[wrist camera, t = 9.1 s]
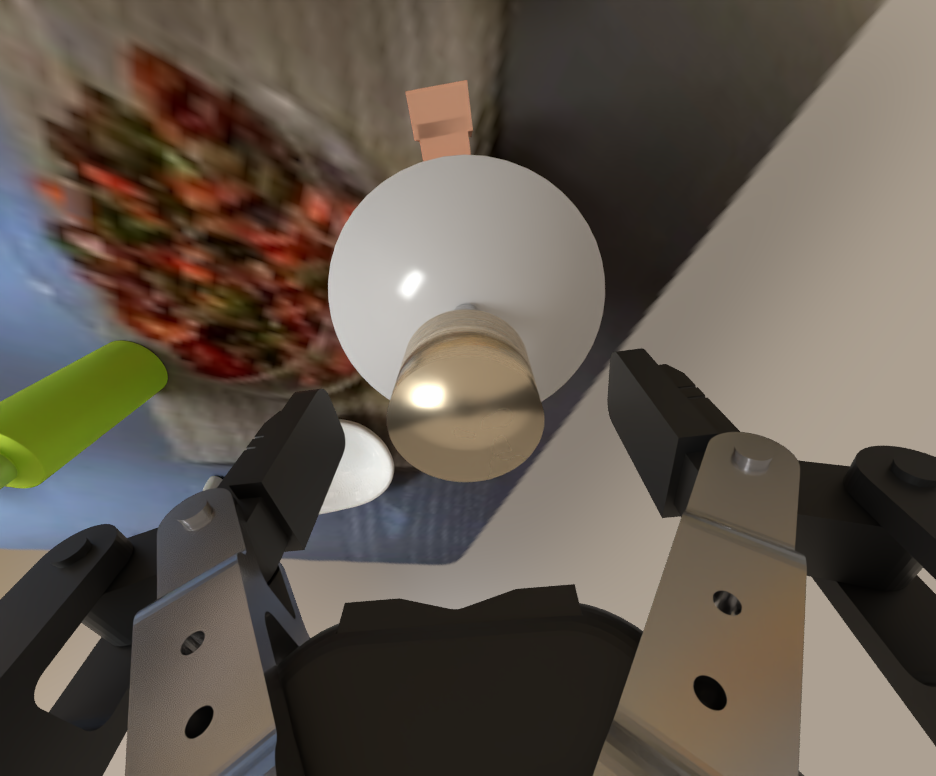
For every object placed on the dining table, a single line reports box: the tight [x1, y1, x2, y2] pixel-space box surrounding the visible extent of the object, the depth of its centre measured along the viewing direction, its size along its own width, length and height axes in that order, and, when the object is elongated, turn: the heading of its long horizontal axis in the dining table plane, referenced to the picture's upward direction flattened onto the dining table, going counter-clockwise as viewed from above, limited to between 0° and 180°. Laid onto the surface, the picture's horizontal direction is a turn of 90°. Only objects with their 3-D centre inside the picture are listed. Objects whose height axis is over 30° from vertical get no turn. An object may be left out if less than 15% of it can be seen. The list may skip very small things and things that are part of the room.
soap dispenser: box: [0, 341, 168, 489], centre depth 28 cm, size 6×7×20 cm
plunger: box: [387, 303, 544, 482], centre depth 13 cm, size 4×4×7 cm
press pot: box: [328, 80, 605, 402], centre depth 23 cm, size 14×12×17 cm
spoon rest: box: [203, 419, 394, 514], centre depth 41 cm, size 24×12×7 cm, turn 114°
